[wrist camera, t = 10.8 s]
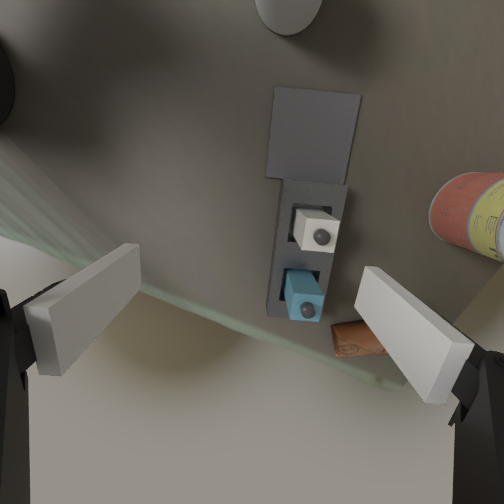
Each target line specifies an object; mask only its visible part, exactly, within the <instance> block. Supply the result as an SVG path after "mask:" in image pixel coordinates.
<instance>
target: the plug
mask: <svg viewBox="0 0 504 504" xmlns="http://www.w3.org/2000/svg"><path fill="white" fill-rule="evenodd" d="M283 291H284V296H285V300H286V305H287V309H288V314H289V318H290V319H291V320H302V321H313V322H319V319H320V314H321V310H322V305H323V300H324V294H323V293H322V291H321V289H320V287H319V285H318V283H317V282H316V280H315V278H314V276H313V274H312V272H311V270H304V269H293V268H285V273H284V280H283Z"/></svg>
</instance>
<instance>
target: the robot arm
mask: <svg viewBox="0 0 504 504" xmlns="http://www.w3.org/2000/svg"><path fill="white" fill-rule="evenodd" d="M13 100H14V80H13V75H12V71H11V67H10V64H9V62H8V59H7V57H6V55H5V53H4V51H3V49H2V47H1V46H0V124H1V123H2V122H3V121H4V120H5V119H6V117H7V116H8V114H9V112H10V110H11V108H12V104H13ZM140 289H141V269H140V249H139V244H130V243H125V244H123V245H122V246H120V247H118V248H117V249H115V250H113V251H112V252H110V253H109V254H107V255H105V256H104V257H102V258H100V259H99V260H97V261H96V262H94V263H92V264H91V265H89V266H87V267H86V268H84V269H83V270H81V271H79V272H78V273H76V274H74V275H73V276H71V277H70V278H68V279H64V280H62V281H59V282H56V283H53V284H51V285H50V286H48V287H46V288H45V289H43V291H40V292H38V293H37V294H35V295H34V296H31V297H30V298H28V299H26V300H24V301H23V302H21V303H19V304H18V305H16V306H14V307H13V308H11V309H10V305H9V301H8V298H7V293H6V291H5V290H3V289H0V504H30V466H29V465H30V461H29V405H28V376H27V372H26V370H27V369H28V368H29V367H30V366H31V365H32V364H33V363H34V362H35V361H36V363H37V368H38V372H39V375H51V376H62V375H63V374H64V373H65V372H66V371H67V370H68V369H69V368H70V366H71V365H72V364H73V363H74V362H75V361H76V360H77V358H78V357H79V356H80V355H81V354H82V353H83V352H84V351H85V350H86V349H87V348H88V346H89V345H90V344H91V343H92V342H93V341H94V340H95V339H96V338H97V336H98V335H99V334H100V333H101V332H102V331H103V330H104V329H105V327H106V326H107V325H108V324H109V323H110V322H111V321H112V320H113V318H115V316H116V315H117V314H118V313H119V312H120V311H121V310H122V309H123V308H124V307H125V305H126V304H127V303H128V302H129V301H130V300H131V299H132V298H133V297H134V295H135V294H136V293H137V292H138V291H139V290H140ZM354 307H355V308H356V310H357V311H358V313H359V314H360V315H361V317H362V318H363V319H364V321H365V322H366V323H367V325H368V326H369V328H370V329H371V330H372V332H373V333H374V334H375V336H376V337H377V338H378V340H379V341H380V343H381V344H382V345H383V347H384V348H385V349H386V351H387V352H388V353H389V355H390V356H391V357H392V359H393V360H394V362H395V363H396V364H397V366H398V367H399V368H400V370H401V371H402V372H403V374H404V375H405V377H406V378H407V379H408V381H409V382H410V383H411V385H412V386H413V387H414V389H415V390H416V392H417V393H418V394H419V396H420V397H421V398H422V400H423V401H424V402H425V403H426V404H440V405H445V404H446V402H447V400H448V398H449V396H450V394H451V392H452V393H453V394H454V395H455V396H456V397H457V398H458V399H459V400H460V402H459V404H458V406H457V408H456V410H455V412H454V414H453V415H452V417H451V419H450V421H449V423H448V425H450V426H452V425H453V424H454V423H455V444H454V446H455V447H454V471H453V473H454V474H453V501H452V504H504V354H503V353H500V352H496V351H486V350H484V349H483V348H482V347H480V346H479V345H478V344H477V343H475V342H474V341H473V340H471V339H470V338H469V337H468V336H466V335H465V334H464V333H463V332H460V330H459V329H457V328H456V327H455V326H452V324H451V323H450V322H449V321H447V320H446V319H445V318H444V317H442V316H440V315H438V314H436V313H435V312H434V311H433V310H431V309H430V308H429V307H428V306H426V305H425V304H424V303H423V302H421V301H420V300H419V299H417V298H416V297H415V296H414V295H412V294H411V293H410V292H409V291H407V290H406V289H405V288H404V287H402V286H401V285H400V284H399V283H397V282H396V281H395V280H394V279H392V278H391V277H390V276H389V275H387V274H386V273H385V272H384V271H382V270H381V269H380V268H379V267H372V266H365V269H364V272H363V276H362V280H361V283H360V287H359V291H358V294H357V298H356V301H355V305H354Z"/></svg>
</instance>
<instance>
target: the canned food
mask: <svg viewBox="0 0 504 504" xmlns="http://www.w3.org/2000/svg"><path fill="white" fill-rule="evenodd" d="M429 225H430V228H431V230H432V231H433V233H434V234H435V235H436V236H437V237H438V238H439V239H441V240H443V241H445V242H448V243H452V244H455V245H457V246H460V247H463V248H465V249H468V250H471V251H474V252H476V253H479V254H482V255H484V256H487V257H490V258H493V259H495V260H498V261H501V262H504V173H483V172H469V173H464V174H461V175H459V176H457V177H455V178H453V179H451V180H450V181H448V182H447V183H446V184H445V185H443V186H442V187H441V188H440V190H439V191H438V192H437V194H436V195H435V197H434V198H433V200H432V203H431V205H430V209H429Z"/></svg>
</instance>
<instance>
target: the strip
mask: <svg viewBox="0 0 504 504" xmlns="http://www.w3.org/2000/svg"><path fill="white" fill-rule="evenodd" d="M348 186H349V185H343V184H333V183H323V182H312V181H302V180H291V179H281V187H280V195H279V203H278V212H277V220H276V228H275V236H274V244H273V252H272V260H271V268H270V277H269V285H268V293H267V301H266V309H267V316H270V317H281V318H289V314H288V309H287V305H286V300H285V296H284V291H283V280H284V273H285V268H293V269H304V270H311V272H312V274H313V276H314V278H315V280H316V282H317V283H318V285H319V287H320V289H321V291H322V293H323V294H324V300H323V305H322V310H321V314H320V319H319V321H321V317H322V312H323V307H324V302H325V297H326V292H327V287H328V283H329V278H330V273H331V268H332V263H333V258H334V254H335V249H336V244H337V239H338V234H339V229H340V224H341V220H342V215H343V210H344V205H345V200H346V195H347V190H348ZM294 207H304V208H315V209H321V210H322V211H324V212H326V213H327V214H329V215H331V216H333V217H334V218H336V219H338V220H339V221H340V224H339V229H338V234H337V239H336V244H335V249H334V253H330V252H319V251H308V250H301V248H300V246H299V245H298V243H297V241H296V239H295V238H294V236H293V234H292V232H291V227H292V220H293V213H294Z"/></svg>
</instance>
